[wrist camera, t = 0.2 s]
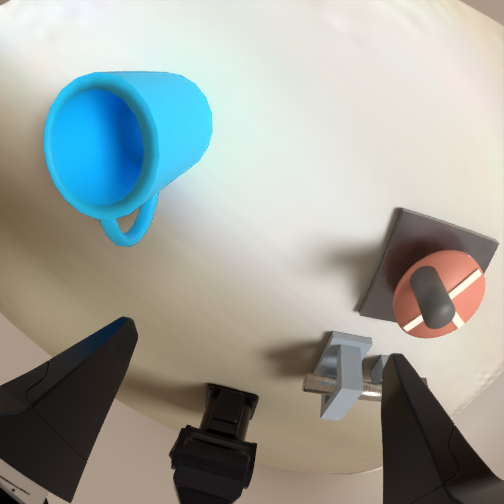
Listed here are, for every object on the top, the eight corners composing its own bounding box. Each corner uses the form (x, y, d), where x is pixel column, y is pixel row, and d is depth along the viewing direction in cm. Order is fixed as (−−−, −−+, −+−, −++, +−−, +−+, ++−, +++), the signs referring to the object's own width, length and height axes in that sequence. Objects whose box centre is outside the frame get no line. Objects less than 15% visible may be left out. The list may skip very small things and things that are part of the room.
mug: (119, 72, 18) (43, 79, 12) (220, 75, 18) (167, 69, 11) (117, 210, 25) (58, 258, 18) (203, 229, 24) (159, 290, 17)
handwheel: (489, 284, 20) (516, 330, 15) (420, 336, 24) (434, 387, 19) (449, 221, 18) (483, 265, 13) (370, 288, 22) (381, 342, 17)
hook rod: (415, 389, 27) (419, 413, 24) (303, 375, 28) (300, 401, 25) (426, 378, 25) (431, 402, 23) (309, 361, 26) (307, 389, 24)
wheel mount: (447, 327, 24) (450, 335, 23) (359, 310, 25) (360, 320, 24) (496, 239, 19) (502, 246, 18) (401, 207, 20) (406, 214, 19)
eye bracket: (376, 383, 30) (380, 427, 25) (311, 374, 31) (308, 420, 26) (405, 343, 26) (415, 391, 21) (333, 331, 27) (333, 381, 22)
